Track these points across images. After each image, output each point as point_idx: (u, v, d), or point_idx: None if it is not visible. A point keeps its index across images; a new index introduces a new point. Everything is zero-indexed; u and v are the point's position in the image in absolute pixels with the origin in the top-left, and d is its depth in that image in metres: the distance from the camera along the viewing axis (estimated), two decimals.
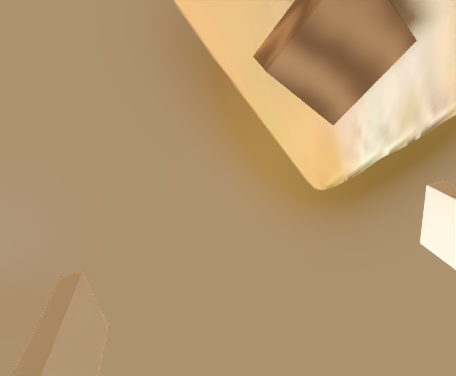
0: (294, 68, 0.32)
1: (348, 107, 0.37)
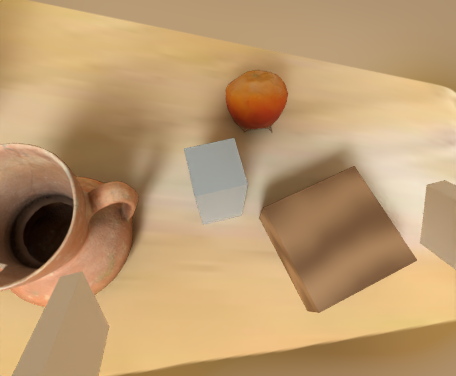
0: (329, 283, 0.31)
1: (400, 238, 0.33)
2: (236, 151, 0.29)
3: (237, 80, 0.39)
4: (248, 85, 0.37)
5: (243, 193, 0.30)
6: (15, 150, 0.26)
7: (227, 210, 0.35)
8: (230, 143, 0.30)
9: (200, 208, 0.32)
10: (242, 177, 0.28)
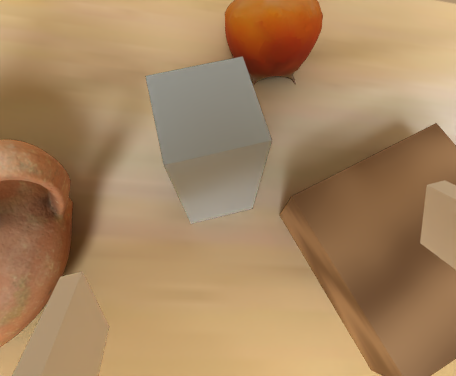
0: (421, 331, 0.17)
1: None
2: (247, 80, 0.15)
3: None
4: None
5: (260, 163, 0.16)
6: None
7: (230, 199, 0.21)
8: (235, 66, 0.15)
9: (181, 194, 0.17)
10: (261, 128, 0.14)
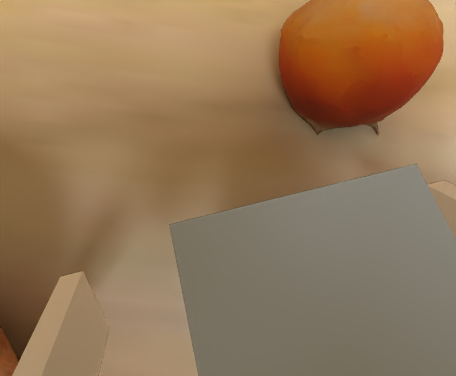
0: None
1: None
2: (444, 237, 0.06)
3: (316, 1, 0.15)
4: (356, 5, 0.13)
5: None
6: None
7: None
8: (404, 193, 0.06)
9: None
10: None
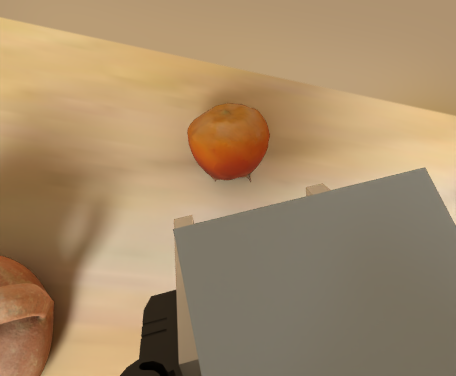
0: None
1: None
2: (454, 243, 0.05)
3: (202, 118, 0.29)
4: (215, 127, 0.28)
5: None
6: None
7: None
8: (413, 197, 0.06)
9: None
10: None
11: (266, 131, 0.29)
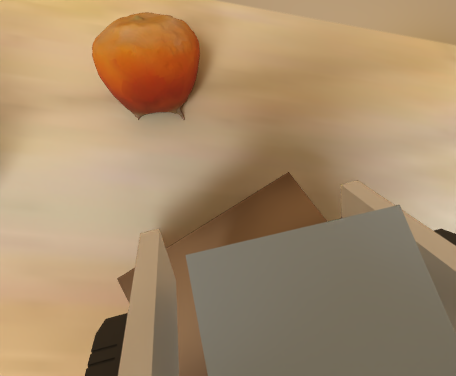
0: None
1: None
2: (420, 271, 0.07)
3: (107, 27, 0.22)
4: (118, 32, 0.21)
5: None
6: None
7: None
8: (387, 231, 0.07)
9: None
10: None
11: (192, 43, 0.22)
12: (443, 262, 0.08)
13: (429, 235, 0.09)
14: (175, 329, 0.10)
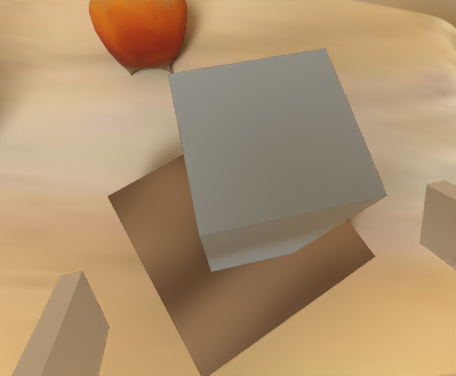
0: (221, 320, 0.17)
1: (343, 222, 0.19)
2: (336, 87, 0.09)
3: None
4: None
5: (342, 219, 0.10)
6: None
7: (272, 251, 0.15)
8: (315, 63, 0.09)
9: (211, 255, 0.11)
10: (366, 173, 0.08)
11: (179, 1, 0.25)
12: None
13: None
14: None
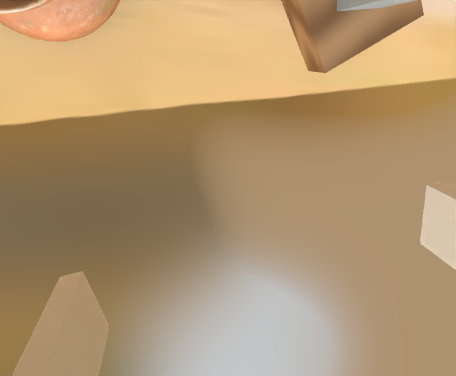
0: (338, 44, 0.33)
1: None
2: None
3: None
4: None
5: None
6: None
7: (388, 3, 0.28)
8: None
9: (381, 0, 0.25)
10: None
11: None
12: None
13: None
14: None
